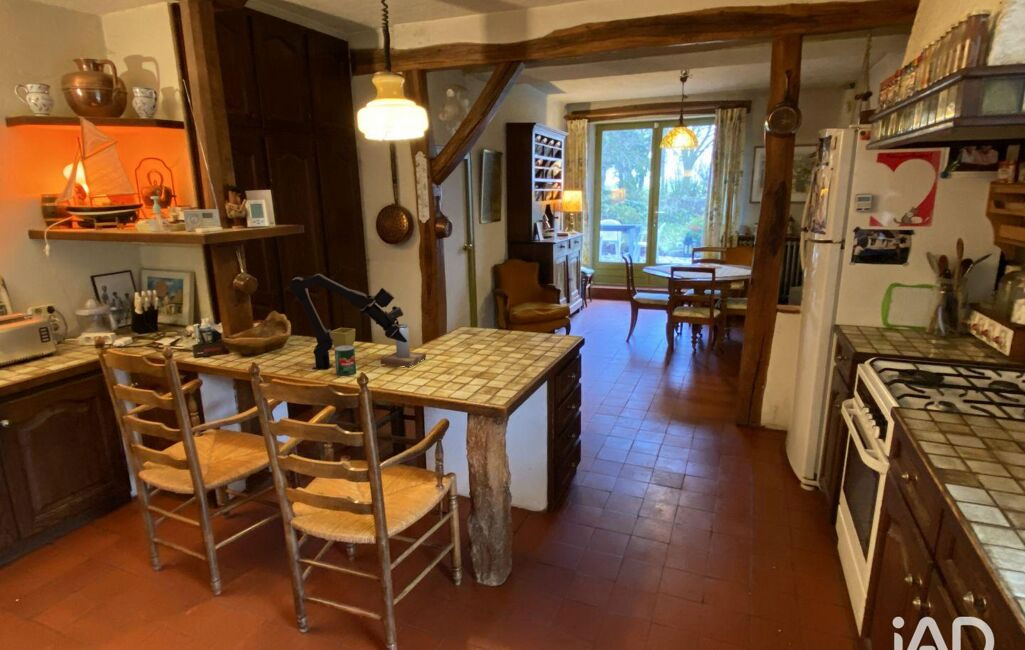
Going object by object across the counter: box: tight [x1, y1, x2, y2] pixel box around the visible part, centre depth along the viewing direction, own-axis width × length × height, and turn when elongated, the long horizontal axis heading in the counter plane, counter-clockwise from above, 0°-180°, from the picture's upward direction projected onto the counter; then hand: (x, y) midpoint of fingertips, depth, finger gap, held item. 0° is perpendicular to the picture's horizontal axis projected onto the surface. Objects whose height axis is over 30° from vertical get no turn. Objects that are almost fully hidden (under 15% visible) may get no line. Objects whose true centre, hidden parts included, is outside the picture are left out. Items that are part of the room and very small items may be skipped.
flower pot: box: [331, 327, 356, 348], centre depth 268 cm, size 9×9×9 cm
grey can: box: [395, 323, 411, 358], centre depth 245 cm, size 6×6×14 cm
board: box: [380, 351, 427, 368], centre depth 247 cm, size 14×14×3 cm
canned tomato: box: [334, 345, 357, 377], centre depth 230 cm, size 8×8×11 cm
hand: (405, 339), depth 245 cm, fingers open, 9 cm apart
